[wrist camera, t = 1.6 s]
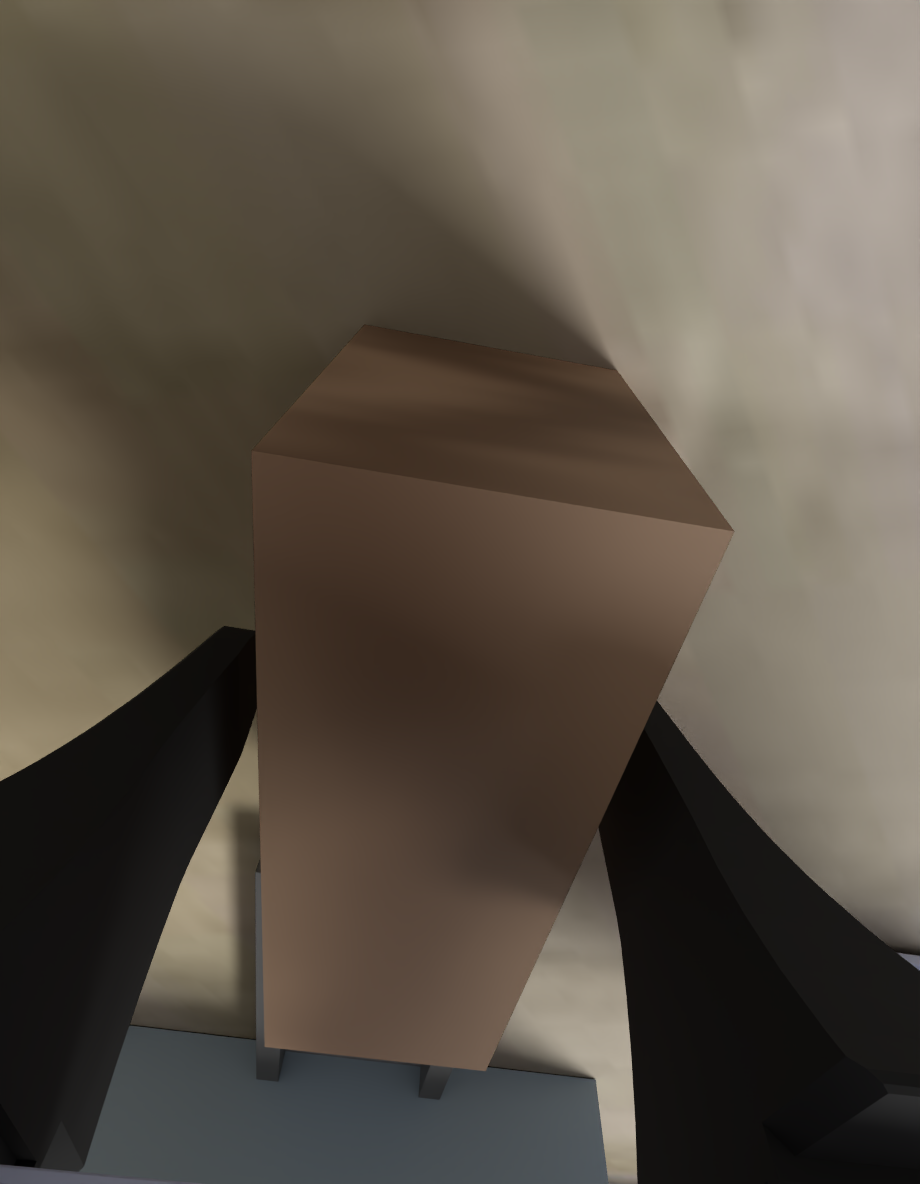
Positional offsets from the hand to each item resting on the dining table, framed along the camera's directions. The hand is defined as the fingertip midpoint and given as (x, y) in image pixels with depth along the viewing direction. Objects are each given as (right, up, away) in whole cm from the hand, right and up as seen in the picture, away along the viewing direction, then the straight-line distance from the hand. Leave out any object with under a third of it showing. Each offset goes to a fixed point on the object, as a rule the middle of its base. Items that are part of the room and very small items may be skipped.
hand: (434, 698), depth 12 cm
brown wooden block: (0, +1, +4) cm, 4 cm away
